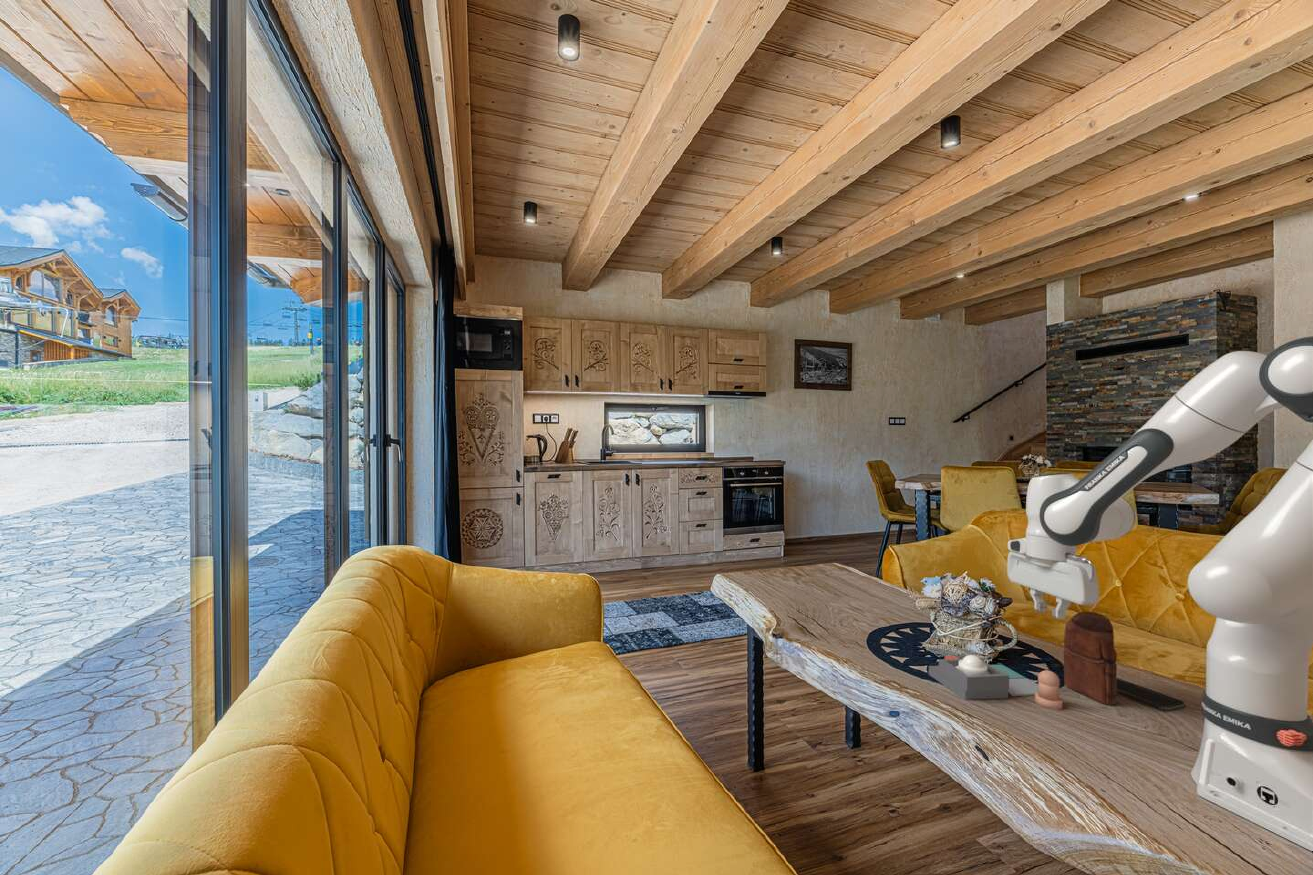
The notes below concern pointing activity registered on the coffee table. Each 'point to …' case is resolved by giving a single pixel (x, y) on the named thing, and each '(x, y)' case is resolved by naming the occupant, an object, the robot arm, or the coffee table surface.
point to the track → (1018, 683)
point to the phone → (1148, 696)
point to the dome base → (970, 680)
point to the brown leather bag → (1091, 657)
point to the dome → (972, 666)
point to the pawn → (1048, 691)
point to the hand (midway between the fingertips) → (1049, 614)
